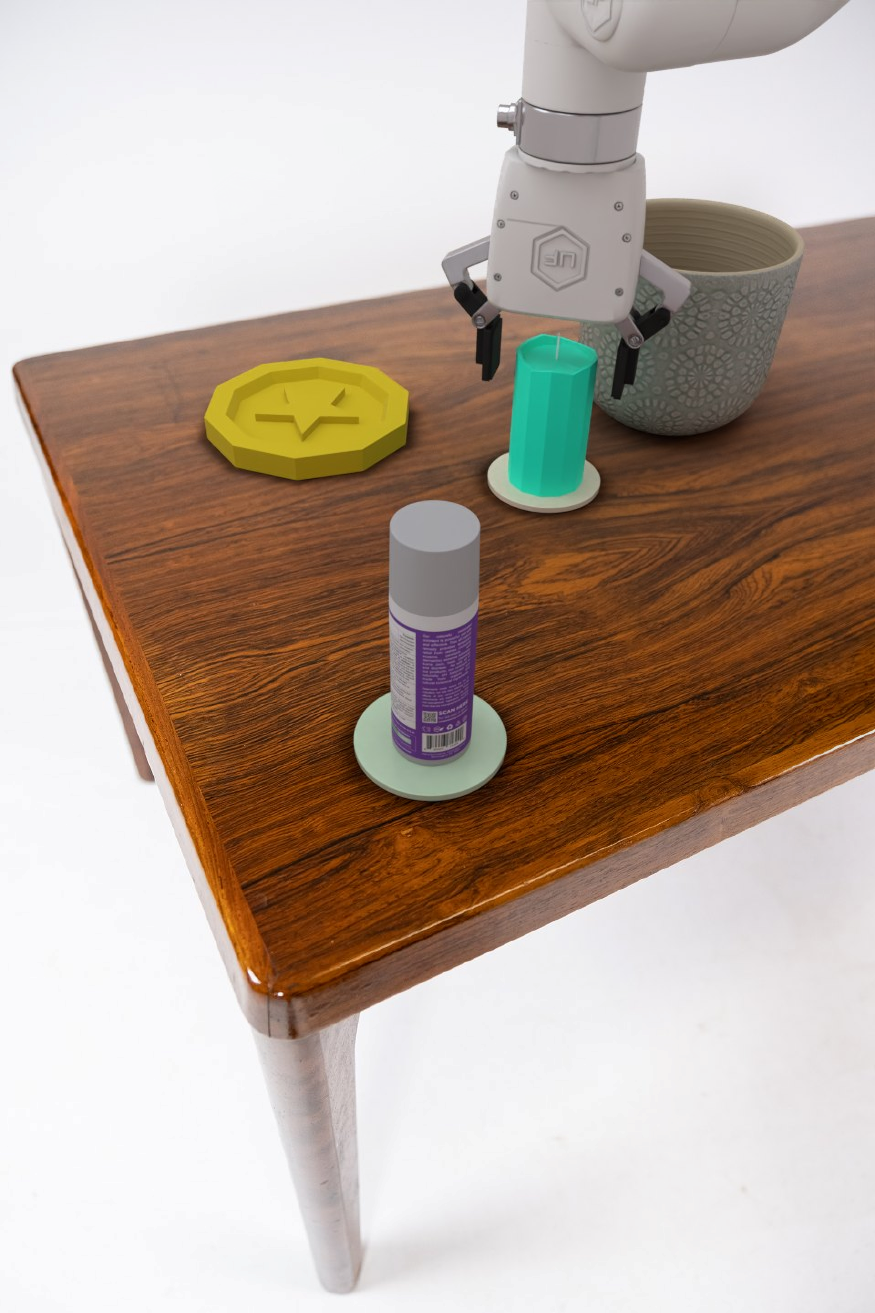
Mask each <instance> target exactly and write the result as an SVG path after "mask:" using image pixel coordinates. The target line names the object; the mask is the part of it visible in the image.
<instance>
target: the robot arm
mask: <svg viewBox="0 0 875 1313" xmlns="http://www.w3.org/2000/svg"><path fill="white" fill-rule="evenodd" d="M850 1H851V0H527V1H526V15H525V30H524V46H523V63H522V64H523V65H522V78H521V79H522V81H521V82H522V83H521V84H522V85H521V96H520V98H519V99H518V100H517V101H516V102H511V103H510V104H499V105H498V108H497V114H496V126H497V128H499V129H500V128H501V129H507V131H508V132H513V137H515V144H514V145H512V146H511V147H509V149H508V150H507V151H505V153H504V156H503V160H502V164H501V168H500V172H499V178H498V183H497V188H496V192H495V193H496V194H495V200H494V207H493V212H492V213H493V214H492V220H491V221H492V222H491V228H490V234H489V235H487V236H484V237H482V238H480V239H477V240H475V241H472V242H470V243H468V244H465V245H462V246H461V247H459V248H455V249H454V250H451V251H449V252H447V253H446V255H445V256H444V258H442V261H441V264H440V265H441V268H442V271H443V272H444V275H445V277H446V279H447V281H448V284H449V286H450V287H451V289H452V291H453V297H454V299H455V300H456V302H457V303H458V304H459V305H460V306H461V308H462V309H463V310H464V311H465V312H466V313H467V315H468V316H469V317H470V318H471V324H472V325H473V327H474V328H476V342H475V364H476V365H481V381H482V382H487V383H489V382H490V381H492V380H493V378H494V377H495V375H496V373H497V371H498V369H499V367H500V363H501V352H502V351H501V350H502V338H503V337H502V336H503V335H502V334H503V317H501V315H502V314H501V312H505V313H509V314H515V315H524V316H529V317H538V318H544V319H545V318H546V319H551V320H552V319H553V320H560V321H568V322H569V321H570V322H576V323H580V322H584V323H594V324H614V326H615V327H616V329H617V330H618V332H619V333H620V335H621V336H622V337H621V340H620V343H619V346H618V350H617V356H616V363H615V371H614V378H613V385H612V392H611V397H613V399H616V400H620V399H621V396H622V393H623V389H624V386H625V384H628V385H633V384H634V381H635V376H636V370H637V364H638V357H639V351H640V347H641V346H642V345H643V342H645V341H646V340H648V339H649V338H650V337H652V336H653V335H655V334H656V333H657V332H659V331H660V330H662V329H663V328H664V327H666V326H667V325H668V324H669V322H670V320H671V319H672V317H673V316H674V315H675V314H676V313H677V311H678V310H679V309H680V307H681V306H682V305H683V303H684V302H685V301H686V300H687V298H688V297H689V295H690V291H691V282H690V281H689V280H688V279H686V278H685V277H683V276H682V275H681V274H679V273H678V272H676V271H675V270H673V269H672V268H670V267H669V266H668V265H666V264H665V263H663V262H662V261H660V260H659V259H657V258H656V257H654V256H653V255H652V254H650V253H649V252H647V251H646V250H644V249H643V241H644V228H645V213H646V199H647V171H646V159H645V157H644V156H643V154H641V153H640V152H638V151H637V150H638V141H639V134H640V128H641V118H642V114H643V113H642V112H643V104H644V103H643V102H644V96H645V87H646V83H647V74H648V73H655V72H661V71H667V70H675V69H684V68H691V67H694V66H697V65H705V64H712V63H719V62H727V61H734V60H742V59H751V58H756V57H764V56H769V55H772V54H775V53H778V52H780V51H782V50H784V49H787V48H790V47H791V46H793V45H795V44H797V43H799V42H800V41H802V40H803V39H804V38H806V37H807V36H809V35H811V34H812V33H813V32H815V31H816V30H817V29H819V28H820V27H821V26H823V25H824V24H825V23H826V22H828V20H830V19H831V18H832V17H833V16H834V15H836V14H837V13H838V12H839V11H840V10H841V9H843V8H844V7H845V6H846V5H847V4H849V2H850ZM486 261H487V267H486V281H485V293H484V292H483V291H482V290H481V288H480V286H478V284H476V282H475V281H474V280H473V279H472V278H471V276H470V272H469V268H471V267H473V266H476V265H479V264H481V263H483V262H486ZM639 276H640V277H641V278H643V279H644V280H646V281H647V282H649V283H650V284H652V285H653V286H654V287H656V288H657V289H659V290H660V291H662V292H663V293H664V297H663V298H662V300H661V301H660V303H658V304H657V305H656V306H654V307H653V308H652V309H650V310H649V311H647V312H646V313H645V314H642V312H641V311H640V309H639V308H638V306H637V304H636V303H635V301H634V298H635V294H636V289H637V285H638V282H639Z"/></svg>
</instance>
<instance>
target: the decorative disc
mask: <svg viewBox="0 0 875 1313" xmlns="http://www.w3.org/2000/svg"><path fill="white" fill-rule="evenodd" d="M409 393H410V391H408V390H407V389H405V387H403V386H402V385H400V384H399V383H398V382H396V381H395V380H394V379H392V378H391V377H389V376H388V375H387V374H385V372H383V371H381V370H380V369H379V368H378V367H376V366H369V365H365V364H358V363H353V362H347V361H342V360H337V359H331V358H327V357H314V358H304V359H303V358H302V359H296V360H294V359H293V360H286V361H278V362H268V363H261V364H259V365H257V366H255V367H253V368H250V369H248V370H247V371H245V372H243V373H241V374H238V375H236V376H234V377H232V378H230V379H229V380H227V381H224V382H223V383H222V382H221V383H220V384H218V385H216V387H215V388H214V392H213V394H212V396H211V398H210V400H209V404H208V406H207V409H206V412H205V413H204V417H203V419H204V427H205V432H206V439H207V440H208V441H209V442H210V443H211V444H212V445H213V447H215V448H216V449H217V450H218V451H219V452H220V453H221V454H222V455H223V456H224V457H225V458H226V459H227V460H228V461H229V462H230V463H231V464H232V465H233V466H234V467H235V468H236V469H242V470H246V471H251V472H256V473H261V474H265V475H270V476H274V477H279V478H283V479H289V480H293V481H302V480H308V479H316V478H324V477H330V476H338V475H345V474H351V473H352V474H353V473H360V472H364V471H366V470H367V469H369V468H371V467H373V466H374V465H375V464H377V463H379V462H380V461H382V460H383V459H385V458H386V457H388V456H390V455H391V454H393V453H394V452H396V451H398V450H399V449H401V448H402V447H405V445H406V443H407V435H408V434H407V433H408V427H409V426H408V425H409V417H410V416H409V415H410V394H409Z"/></svg>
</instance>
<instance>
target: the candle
mask: <svg viewBox="0 0 875 1313" xmlns="http://www.w3.org/2000/svg"><path fill="white" fill-rule="evenodd" d="M597 365H598V357H597V354H596V351H595V350H594V349H592V348H590V347H588V346H586V345H584V344H581V343H578V341H575V340H572V339H570V338H566V337H563V336H561V332H557V335H552V334H545V333H541V334H538V335H535V336H532V337H530V338H528V339H526V340H525V339H524V341H522V342H521V343H520V344H519V345H518V346H517V347H516V351H515V365H514V366H515V367H514V380H513V394H512V405H511V406H512V408H511V420H510V433H509V435H510V436H509V446H508V447H509V449H508V452H509V461H508V476H509V482H510V483H511V484H512V485H513V486H515V487H516V488H517V489H518V490H520V491H521V492H524V493H527V494H531V495H534V496H538V497H560V496H563V495H566V494H569V493H571V492H574V491H576V489H577V488H578V487H579V485H580V484H581V483H582V480H583V473H584V465H585V460H586V456H587V449H588V442H589V434H590V425H591V419H592V411H593V410H592V409H593V403H594V401H593V396H594V388H595V381H596V373H597Z"/></svg>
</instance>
